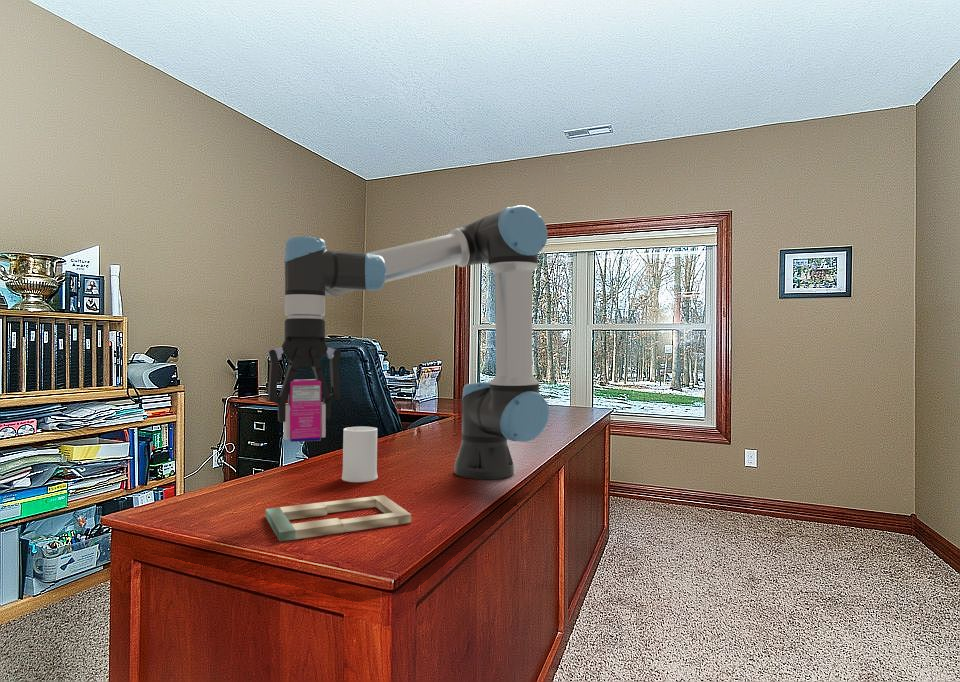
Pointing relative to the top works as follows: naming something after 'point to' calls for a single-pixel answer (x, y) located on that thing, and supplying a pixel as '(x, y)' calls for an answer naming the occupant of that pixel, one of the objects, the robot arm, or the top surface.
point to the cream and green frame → (289, 531)
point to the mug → (359, 454)
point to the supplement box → (305, 410)
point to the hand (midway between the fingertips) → (304, 437)
